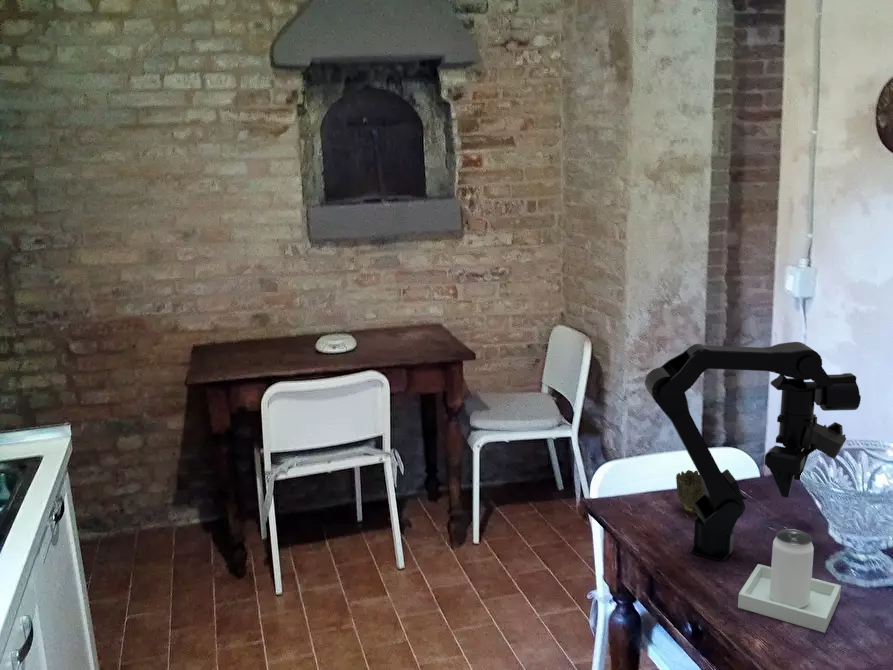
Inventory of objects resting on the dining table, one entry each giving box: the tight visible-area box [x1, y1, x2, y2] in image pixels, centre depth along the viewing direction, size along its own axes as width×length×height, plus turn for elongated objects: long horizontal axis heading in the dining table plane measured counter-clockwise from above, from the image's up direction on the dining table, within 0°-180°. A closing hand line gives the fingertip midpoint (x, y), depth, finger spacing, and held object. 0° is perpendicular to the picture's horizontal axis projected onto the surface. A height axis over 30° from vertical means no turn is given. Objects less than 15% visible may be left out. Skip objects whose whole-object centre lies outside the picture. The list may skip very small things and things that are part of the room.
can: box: [770, 528, 815, 609], centre depth 144 cm, size 6×6×12 cm
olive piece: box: [675, 469, 704, 515], centre depth 180 cm, size 8×7×8 cm
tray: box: [737, 563, 842, 634], centre depth 145 cm, size 14×12×3 cm
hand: (791, 488), depth 160 cm, fingers open, 9 cm apart
